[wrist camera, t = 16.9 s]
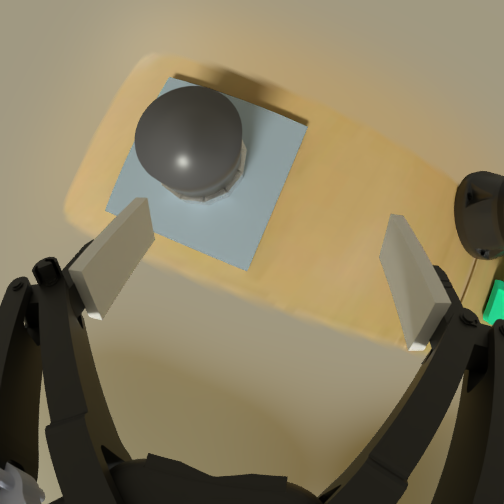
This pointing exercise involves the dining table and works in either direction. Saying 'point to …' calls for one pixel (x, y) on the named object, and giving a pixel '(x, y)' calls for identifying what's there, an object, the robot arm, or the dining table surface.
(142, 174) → the board
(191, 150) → the dome-topped grey cylinder
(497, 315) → the camera mount
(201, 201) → the pale grey faceted ring
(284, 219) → the dining table surface
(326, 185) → the dining table surface
